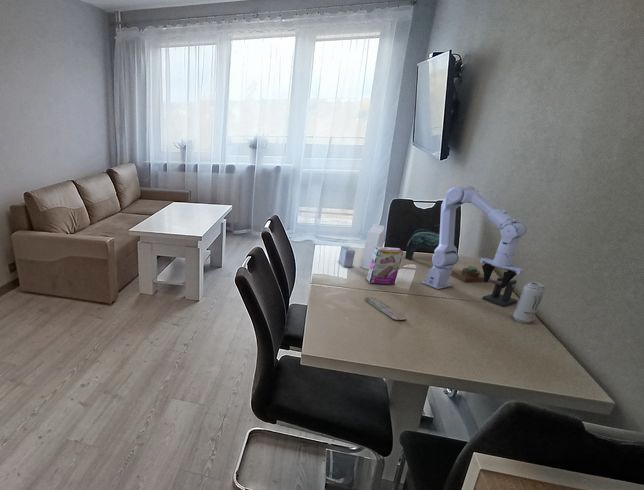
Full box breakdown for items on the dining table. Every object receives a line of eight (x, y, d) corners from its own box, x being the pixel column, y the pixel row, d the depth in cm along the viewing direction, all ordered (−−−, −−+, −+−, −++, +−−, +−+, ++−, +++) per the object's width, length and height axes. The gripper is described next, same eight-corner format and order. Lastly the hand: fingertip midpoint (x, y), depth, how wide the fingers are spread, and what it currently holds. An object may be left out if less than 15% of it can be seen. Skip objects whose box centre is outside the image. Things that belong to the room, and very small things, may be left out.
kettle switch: (499, 287, 164) (502, 281, 164) (486, 282, 169) (488, 277, 168) (512, 288, 170) (515, 282, 169) (499, 283, 174) (502, 278, 173)
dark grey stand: (502, 306, 169) (510, 284, 165) (482, 298, 175) (489, 277, 171) (516, 302, 173) (524, 280, 169) (496, 295, 179) (503, 274, 175)
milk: (371, 270, 203) (381, 227, 194) (360, 267, 207) (369, 224, 198) (377, 268, 206) (388, 225, 197) (366, 264, 211) (376, 222, 202)
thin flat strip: (373, 298, 174) (373, 296, 173) (407, 319, 155) (407, 317, 155) (362, 299, 173) (362, 297, 173) (395, 320, 154) (395, 318, 154)
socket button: (470, 272, 194) (471, 269, 193) (464, 269, 197) (465, 266, 196) (478, 272, 194) (479, 269, 193) (472, 269, 198) (473, 266, 197)
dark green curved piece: (446, 263, 215) (458, 226, 207) (446, 267, 210) (457, 229, 202) (404, 256, 225) (413, 220, 217) (403, 259, 220) (412, 222, 212)
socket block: (464, 282, 192) (466, 274, 191) (450, 274, 200) (453, 267, 199) (487, 281, 194) (490, 273, 192) (473, 274, 202) (476, 266, 200)
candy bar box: (369, 284, 187) (377, 249, 181) (366, 279, 192) (373, 246, 185) (395, 285, 186) (404, 251, 180) (391, 281, 191) (399, 247, 184)
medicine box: (352, 267, 206) (355, 251, 203) (343, 267, 207) (346, 250, 203) (346, 262, 214) (349, 246, 210) (338, 261, 214) (341, 245, 210)
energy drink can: (523, 324, 155) (538, 288, 149) (508, 317, 160) (522, 281, 154) (535, 322, 156) (551, 286, 150) (519, 315, 161) (534, 280, 155)
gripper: (532, 257, 157) (519, 290, 163) (491, 246, 169) (481, 277, 175) (521, 260, 154) (509, 292, 160) (481, 248, 166) (471, 279, 172)
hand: (494, 284), depth 167 cm, fingers open, 6 cm apart
